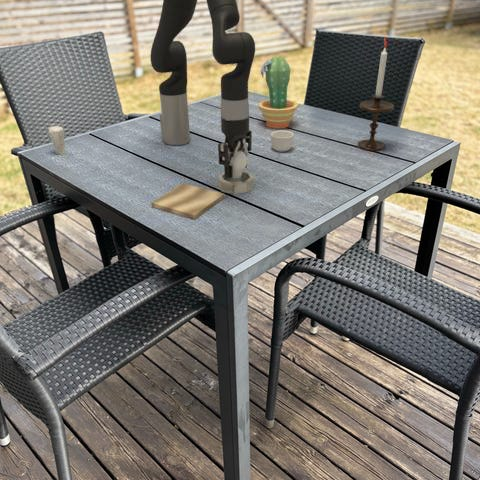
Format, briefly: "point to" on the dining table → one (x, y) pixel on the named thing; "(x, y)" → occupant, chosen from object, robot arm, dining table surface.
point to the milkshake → (58, 139)
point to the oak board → (188, 201)
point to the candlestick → (376, 108)
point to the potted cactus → (277, 94)
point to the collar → (236, 183)
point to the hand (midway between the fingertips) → (236, 172)
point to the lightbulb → (238, 165)
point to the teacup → (282, 140)
